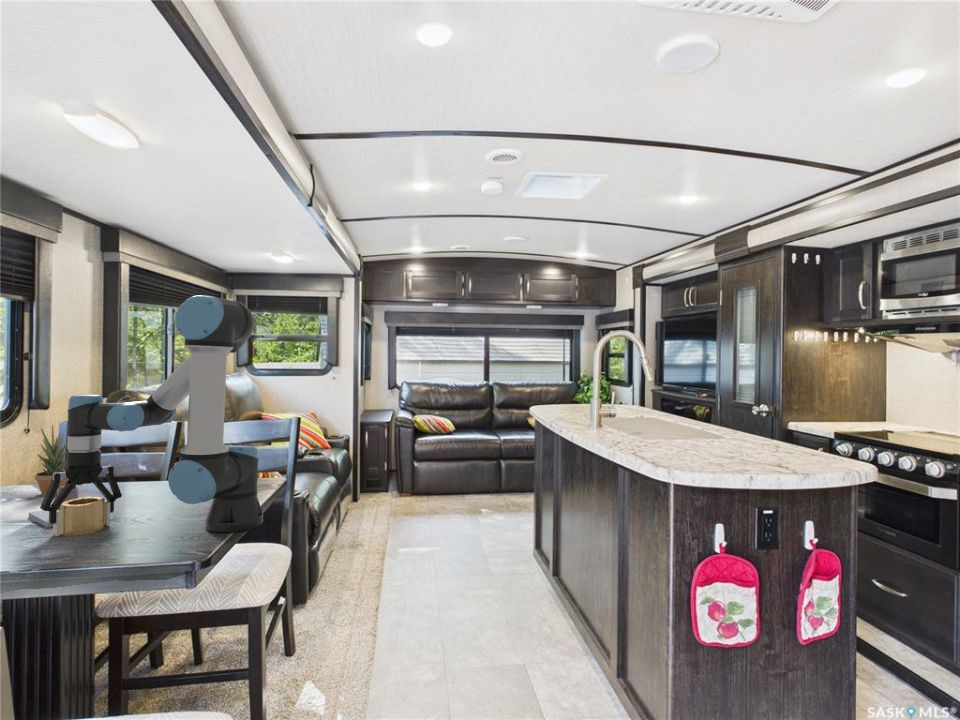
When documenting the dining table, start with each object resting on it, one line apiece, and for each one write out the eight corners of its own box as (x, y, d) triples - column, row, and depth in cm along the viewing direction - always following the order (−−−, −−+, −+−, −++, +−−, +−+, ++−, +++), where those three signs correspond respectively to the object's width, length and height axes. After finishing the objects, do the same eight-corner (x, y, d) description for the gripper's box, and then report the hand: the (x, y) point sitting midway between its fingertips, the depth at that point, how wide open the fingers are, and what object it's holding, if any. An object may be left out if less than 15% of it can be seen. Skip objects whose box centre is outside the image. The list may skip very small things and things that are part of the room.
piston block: (105, 516, 157) (105, 486, 157) (47, 527, 146) (48, 495, 146) (84, 507, 166) (85, 478, 166) (28, 517, 155) (29, 487, 155)
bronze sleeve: (109, 529, 145) (109, 500, 145) (68, 538, 138) (68, 508, 138) (95, 523, 151) (96, 495, 151) (55, 531, 143) (56, 502, 143)
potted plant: (28, 494, 180) (29, 423, 181) (59, 488, 189) (60, 421, 189) (45, 498, 177) (47, 425, 177) (76, 492, 185) (77, 422, 185)
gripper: (125, 444, 156) (123, 517, 156) (26, 454, 137) (23, 537, 137) (136, 446, 152) (135, 522, 152) (35, 457, 133) (33, 543, 133)
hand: (82, 529), depth 144 cm, fingers open, 11 cm apart
